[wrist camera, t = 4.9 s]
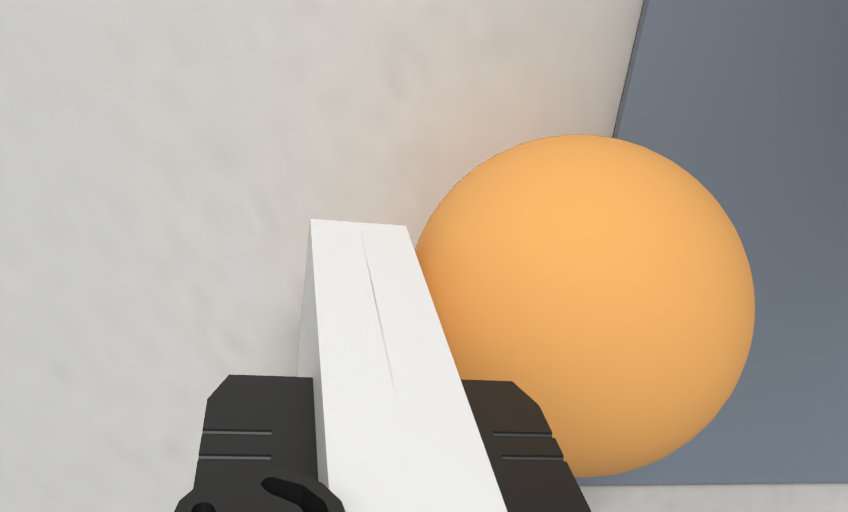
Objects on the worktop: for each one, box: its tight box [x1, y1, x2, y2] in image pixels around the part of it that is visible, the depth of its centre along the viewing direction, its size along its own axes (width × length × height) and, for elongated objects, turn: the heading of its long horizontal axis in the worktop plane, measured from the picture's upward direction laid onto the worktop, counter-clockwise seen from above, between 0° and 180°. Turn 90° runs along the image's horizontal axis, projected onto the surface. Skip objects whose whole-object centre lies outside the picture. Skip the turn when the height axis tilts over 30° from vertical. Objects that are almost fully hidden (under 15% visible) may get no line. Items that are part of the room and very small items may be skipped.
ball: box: [415, 135, 755, 477], centre depth 13 cm, size 6×6×6 cm
